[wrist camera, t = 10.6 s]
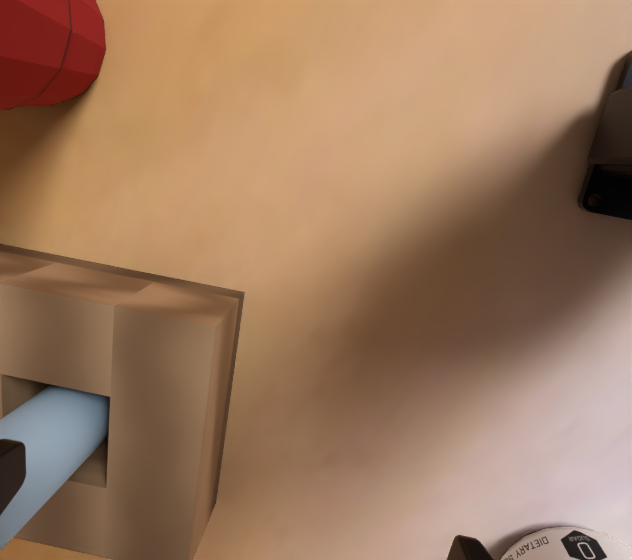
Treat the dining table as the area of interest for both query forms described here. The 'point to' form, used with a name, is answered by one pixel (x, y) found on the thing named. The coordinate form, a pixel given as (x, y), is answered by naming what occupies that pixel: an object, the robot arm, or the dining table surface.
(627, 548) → the supplement can
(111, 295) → the bore block
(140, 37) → the dining table surface
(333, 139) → the dining table surface
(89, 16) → the plastic cup
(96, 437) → the pin
